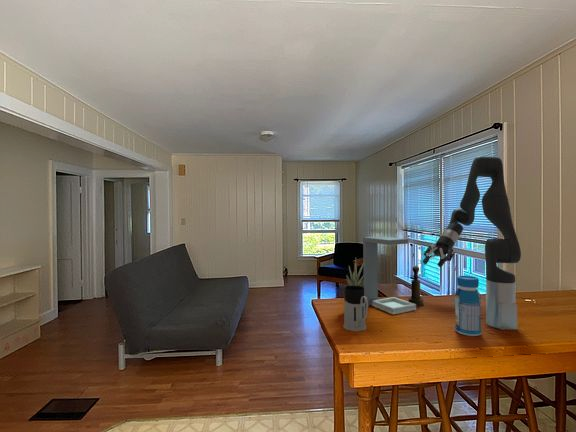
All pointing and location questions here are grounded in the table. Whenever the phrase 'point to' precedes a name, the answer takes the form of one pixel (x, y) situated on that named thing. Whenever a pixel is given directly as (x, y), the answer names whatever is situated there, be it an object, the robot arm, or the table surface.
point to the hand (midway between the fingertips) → (431, 264)
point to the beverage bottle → (468, 306)
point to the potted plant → (355, 278)
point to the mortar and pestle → (416, 288)
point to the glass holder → (355, 308)
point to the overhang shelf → (371, 276)
